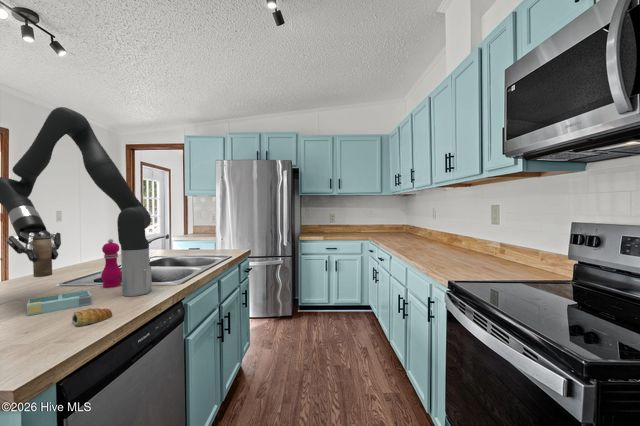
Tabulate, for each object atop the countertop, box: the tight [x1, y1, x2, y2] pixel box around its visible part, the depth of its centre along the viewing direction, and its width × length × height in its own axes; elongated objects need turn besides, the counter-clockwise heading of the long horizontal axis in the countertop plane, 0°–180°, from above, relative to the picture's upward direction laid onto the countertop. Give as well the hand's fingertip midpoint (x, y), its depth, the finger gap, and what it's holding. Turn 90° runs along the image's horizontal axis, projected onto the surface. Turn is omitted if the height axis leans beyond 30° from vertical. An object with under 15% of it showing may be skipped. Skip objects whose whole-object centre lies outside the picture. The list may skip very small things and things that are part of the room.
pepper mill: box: [100, 238, 122, 289], centre depth 128 cm, size 7×7×20 cm
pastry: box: [71, 307, 113, 327], centre depth 90 cm, size 9×7×4 cm
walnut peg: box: [32, 236, 53, 278], centre depth 100 cm, size 5×5×13 cm
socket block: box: [26, 289, 92, 317], centre depth 102 cm, size 16×10×3 cm, turn 132°
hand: (45, 259), depth 99 cm, fingers closed on walnut peg, 4 cm apart
